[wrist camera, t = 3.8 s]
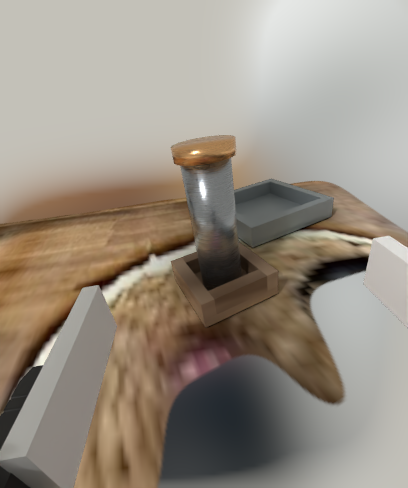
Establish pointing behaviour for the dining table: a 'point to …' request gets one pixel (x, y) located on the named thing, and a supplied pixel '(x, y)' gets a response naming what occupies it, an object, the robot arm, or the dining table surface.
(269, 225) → the tray
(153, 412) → the dining table surface
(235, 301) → the socket block
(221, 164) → the pin
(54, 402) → the robot arm
